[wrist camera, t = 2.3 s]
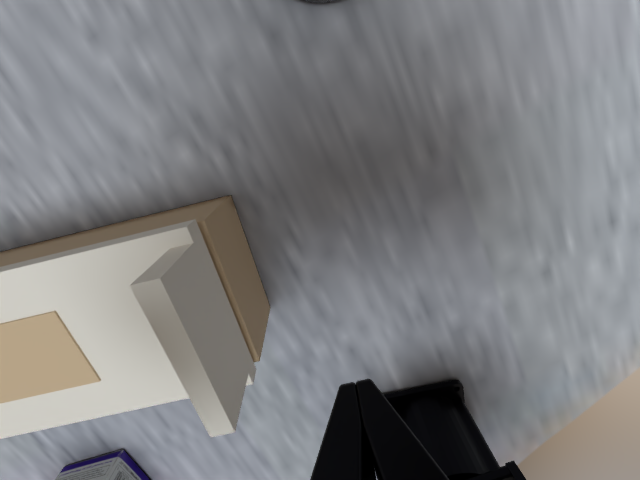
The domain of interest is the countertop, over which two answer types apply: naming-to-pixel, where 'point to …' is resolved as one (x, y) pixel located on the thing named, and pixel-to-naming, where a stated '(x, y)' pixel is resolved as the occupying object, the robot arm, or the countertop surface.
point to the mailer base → (221, 242)
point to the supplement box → (104, 468)
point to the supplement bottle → (320, 1)
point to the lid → (120, 333)
